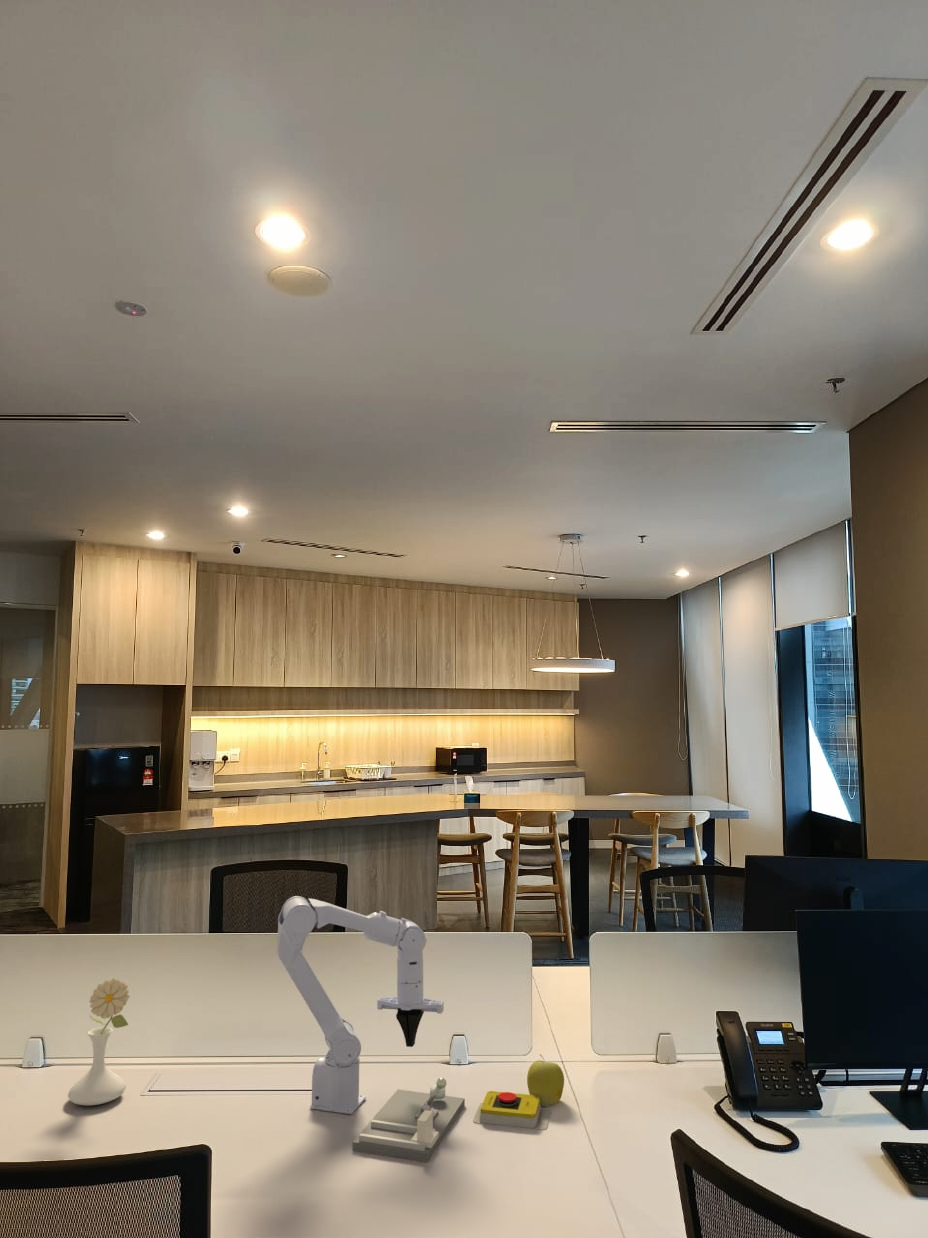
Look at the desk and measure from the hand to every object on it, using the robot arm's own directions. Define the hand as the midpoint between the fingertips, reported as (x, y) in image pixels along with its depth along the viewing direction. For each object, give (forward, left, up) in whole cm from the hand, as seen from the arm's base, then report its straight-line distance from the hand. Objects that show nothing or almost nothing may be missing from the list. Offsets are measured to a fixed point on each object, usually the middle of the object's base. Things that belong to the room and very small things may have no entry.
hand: (410, 1045), depth 186 cm
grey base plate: (+5, -13, -10) cm, 18 cm away
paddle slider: (+11, -21, -9) cm, 25 cm away
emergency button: (+23, -3, -11) cm, 26 cm away
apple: (+29, +6, -11) cm, 31 cm away
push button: (+8, -4, -8) cm, 12 cm away
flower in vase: (-62, -21, -11) cm, 67 cm away
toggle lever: (+8, -11, -7) cm, 15 cm away
